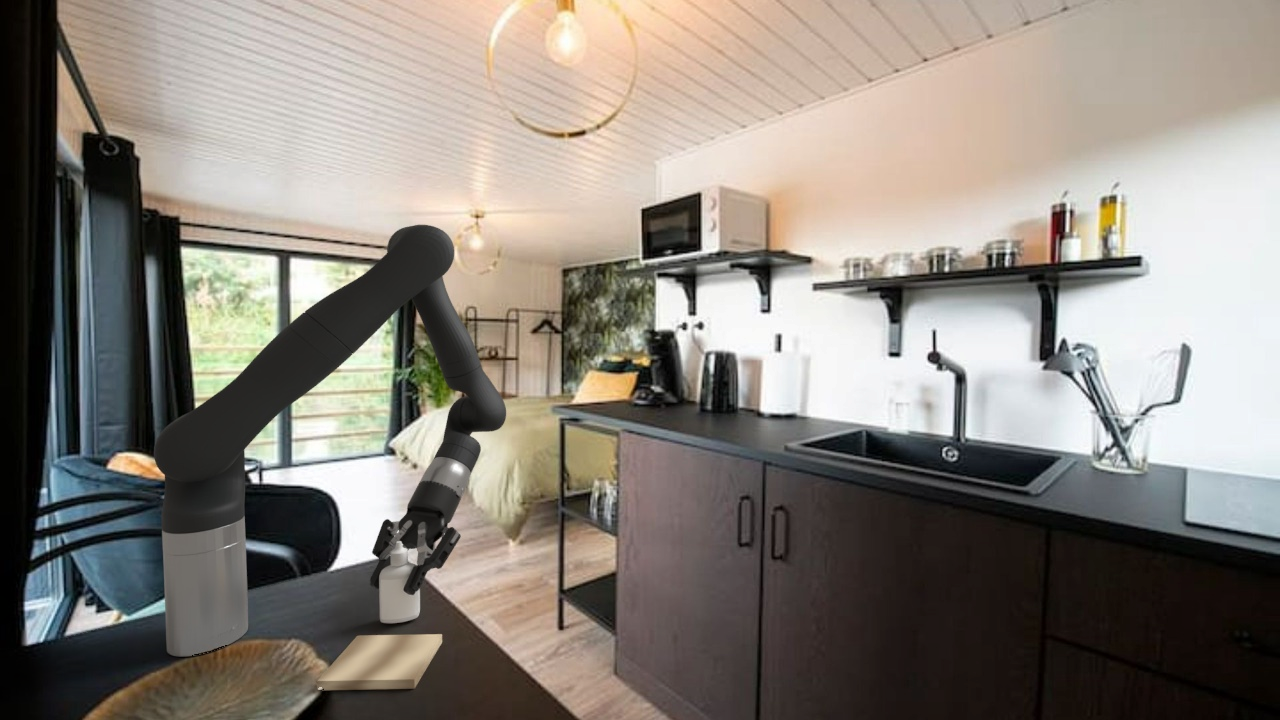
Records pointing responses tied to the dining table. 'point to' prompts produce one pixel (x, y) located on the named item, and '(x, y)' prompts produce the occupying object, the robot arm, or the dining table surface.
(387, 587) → the eye dropper bottle
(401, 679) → the oak board
